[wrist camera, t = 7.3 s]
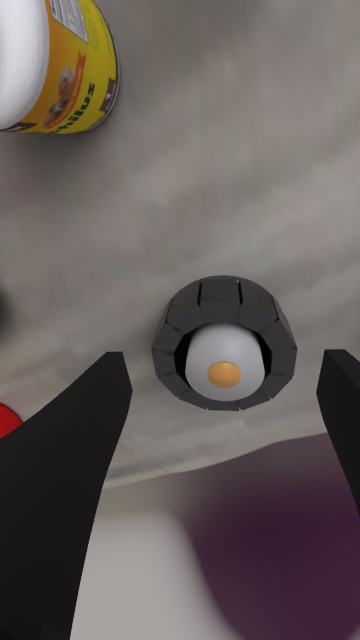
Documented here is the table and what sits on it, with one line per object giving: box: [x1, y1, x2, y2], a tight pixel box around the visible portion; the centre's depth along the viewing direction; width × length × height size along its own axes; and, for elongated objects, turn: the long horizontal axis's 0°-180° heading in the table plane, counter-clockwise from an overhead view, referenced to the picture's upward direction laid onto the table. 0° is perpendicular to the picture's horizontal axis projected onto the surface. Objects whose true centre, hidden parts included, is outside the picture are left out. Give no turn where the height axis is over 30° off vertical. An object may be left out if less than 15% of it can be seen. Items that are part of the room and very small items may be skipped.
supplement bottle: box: [0, 0, 120, 134], centre depth 10 cm, size 6×6×10 cm
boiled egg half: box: [185, 322, 265, 401], centre depth 19 cm, size 5×5×4 cm
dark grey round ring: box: [151, 276, 297, 411], centre depth 20 cm, size 9×9×4 cm
